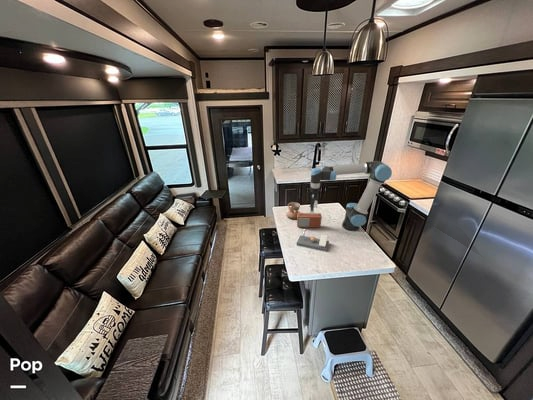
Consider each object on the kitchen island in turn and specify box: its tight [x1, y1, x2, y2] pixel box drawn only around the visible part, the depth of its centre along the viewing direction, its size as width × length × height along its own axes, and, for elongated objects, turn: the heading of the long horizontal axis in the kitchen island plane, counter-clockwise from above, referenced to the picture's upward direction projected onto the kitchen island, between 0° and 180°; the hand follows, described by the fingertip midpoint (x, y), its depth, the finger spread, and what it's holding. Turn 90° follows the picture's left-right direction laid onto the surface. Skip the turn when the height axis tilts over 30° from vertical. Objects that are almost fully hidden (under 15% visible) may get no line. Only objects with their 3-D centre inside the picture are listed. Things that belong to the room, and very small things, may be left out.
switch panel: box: [296, 235, 330, 252], centre depth 176 cm, size 24×12×4 cm, turn 67°
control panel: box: [296, 212, 323, 228], centre depth 200 cm, size 21×7×15 cm, turn 85°
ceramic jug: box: [286, 201, 301, 220], centre depth 219 cm, size 18×14×14 cm
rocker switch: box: [319, 234, 328, 247], centre depth 172 cm, size 5×11×1 cm, turn 157°
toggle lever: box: [302, 228, 307, 239], centre depth 179 cm, size 2×2×8 cm
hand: (313, 210), depth 186 cm, fingers open, 13 cm apart
